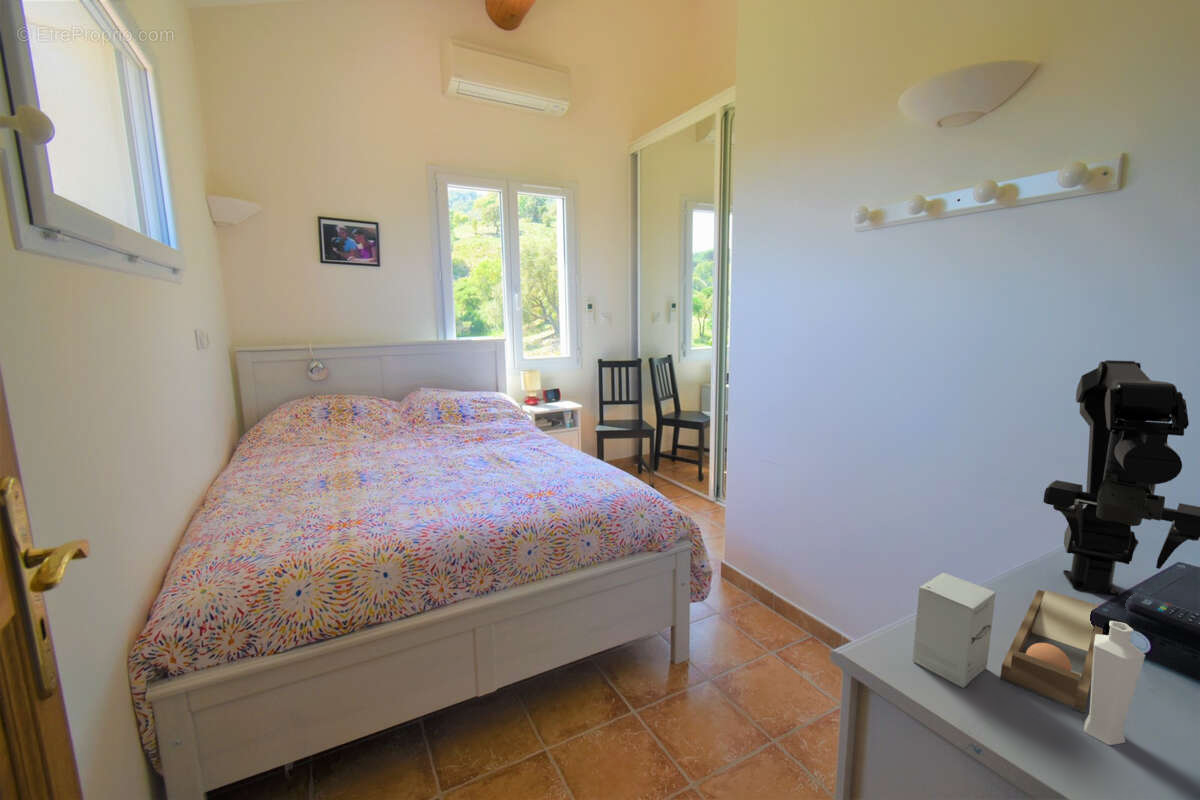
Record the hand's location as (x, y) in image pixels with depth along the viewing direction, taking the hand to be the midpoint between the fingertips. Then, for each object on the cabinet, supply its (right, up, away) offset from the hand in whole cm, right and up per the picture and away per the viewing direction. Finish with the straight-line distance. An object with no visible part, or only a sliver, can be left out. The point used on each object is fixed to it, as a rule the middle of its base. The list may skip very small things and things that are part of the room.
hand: (1116, 557), depth 84 cm
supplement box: (-30, -15, -4) cm, 34 cm away
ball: (-18, -12, -9) cm, 24 cm away
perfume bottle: (-19, -17, -17) cm, 31 cm away
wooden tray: (-11, -14, -2) cm, 18 cm away
